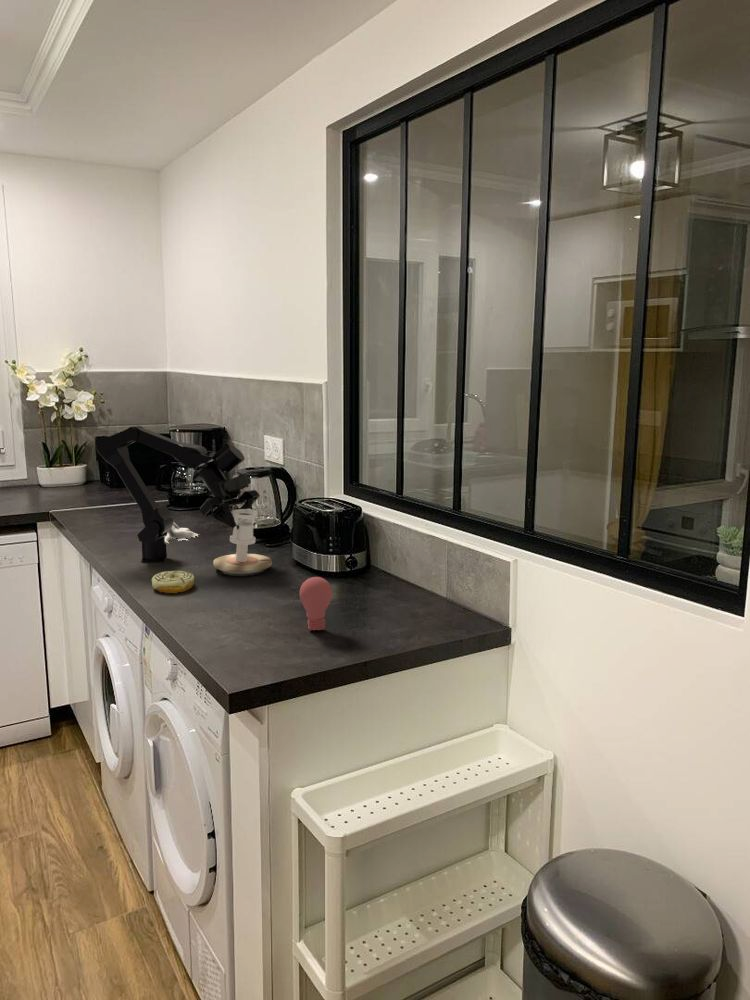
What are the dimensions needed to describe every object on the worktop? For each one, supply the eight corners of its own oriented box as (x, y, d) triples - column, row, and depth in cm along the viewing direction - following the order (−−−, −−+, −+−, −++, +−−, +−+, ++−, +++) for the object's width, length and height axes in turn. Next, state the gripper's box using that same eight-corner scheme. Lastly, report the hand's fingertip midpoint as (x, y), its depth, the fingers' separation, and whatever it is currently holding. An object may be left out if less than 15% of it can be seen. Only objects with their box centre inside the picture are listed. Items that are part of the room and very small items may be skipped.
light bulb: (299, 624, 167) (299, 572, 165) (331, 624, 168) (332, 573, 166) (298, 636, 160) (299, 582, 158) (332, 636, 161) (333, 582, 159)
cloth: (144, 547, 233) (144, 528, 232) (133, 534, 249) (132, 516, 248) (215, 541, 243) (214, 522, 242) (199, 529, 260) (199, 512, 258)
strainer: (242, 565, 204) (246, 512, 201) (223, 560, 207) (226, 507, 204) (259, 560, 210) (262, 508, 207) (239, 555, 213) (243, 504, 210)
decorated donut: (147, 595, 186) (147, 580, 185) (157, 582, 196) (156, 568, 196) (190, 595, 186) (189, 580, 186) (197, 582, 197) (197, 568, 196)
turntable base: (221, 576, 202) (220, 571, 202) (220, 564, 214) (220, 559, 213) (265, 575, 205) (265, 569, 204) (263, 563, 216) (263, 558, 216)
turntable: (213, 573, 200) (213, 569, 199) (213, 557, 215) (213, 554, 215) (273, 571, 203) (273, 567, 203) (269, 556, 218) (269, 552, 218)
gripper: (206, 468, 198) (237, 514, 194) (254, 461, 214) (284, 504, 210) (186, 494, 204) (216, 539, 200) (234, 485, 219) (263, 527, 215)
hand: (246, 527), depth 206 cm, fingers open, 6 cm apart
